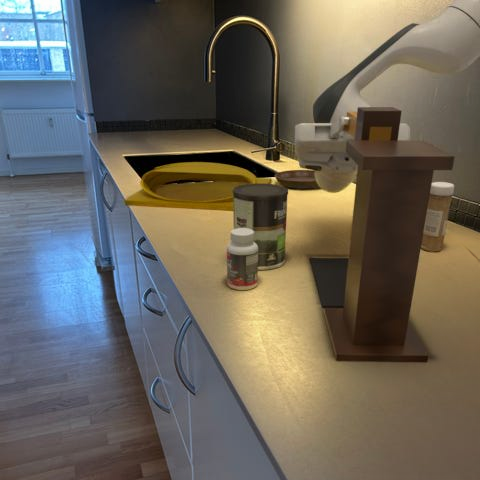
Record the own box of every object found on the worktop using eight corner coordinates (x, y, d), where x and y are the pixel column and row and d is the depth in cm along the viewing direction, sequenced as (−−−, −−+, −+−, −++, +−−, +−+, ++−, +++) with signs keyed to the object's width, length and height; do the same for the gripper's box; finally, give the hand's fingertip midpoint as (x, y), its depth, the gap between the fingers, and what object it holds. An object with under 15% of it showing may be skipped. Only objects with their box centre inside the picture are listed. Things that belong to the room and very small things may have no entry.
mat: (370, 259, 101) (370, 258, 101) (397, 308, 81) (398, 306, 81) (309, 259, 101) (309, 257, 101) (322, 307, 82) (322, 305, 82)
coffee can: (291, 255, 103) (294, 185, 97) (276, 273, 95) (279, 197, 88) (243, 249, 107) (243, 181, 100) (225, 266, 98) (224, 192, 92)
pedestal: (400, 314, 80) (428, 139, 68) (427, 362, 67) (467, 158, 55) (323, 313, 80) (337, 139, 68) (336, 360, 68) (356, 157, 56)
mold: (167, 178, 169) (165, 149, 165) (271, 182, 163) (272, 152, 159) (125, 205, 139) (121, 170, 135) (251, 211, 132) (251, 175, 128)
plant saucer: (262, 184, 161) (262, 174, 160) (299, 176, 172) (300, 166, 170) (305, 193, 149) (306, 183, 148) (342, 184, 160) (343, 174, 159)
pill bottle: (220, 285, 90) (219, 231, 85) (241, 276, 94) (241, 224, 89) (243, 293, 87) (244, 238, 82) (263, 284, 90) (265, 230, 86)
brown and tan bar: (368, 130, 88) (372, 98, 86) (396, 149, 70) (401, 110, 68) (339, 130, 88) (342, 98, 86) (360, 149, 71) (364, 110, 68)
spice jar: (447, 250, 106) (459, 184, 100) (430, 253, 104) (442, 187, 98) (431, 243, 110) (442, 180, 103) (414, 246, 108) (425, 182, 102)
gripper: (398, 168, 97) (422, 139, 84) (291, 168, 98) (297, 139, 84) (398, 135, 98) (422, 102, 84) (291, 135, 98) (297, 102, 84)
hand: (358, 120), depth 84 cm, fingers closed on brown and tan bar, 3 cm apart
